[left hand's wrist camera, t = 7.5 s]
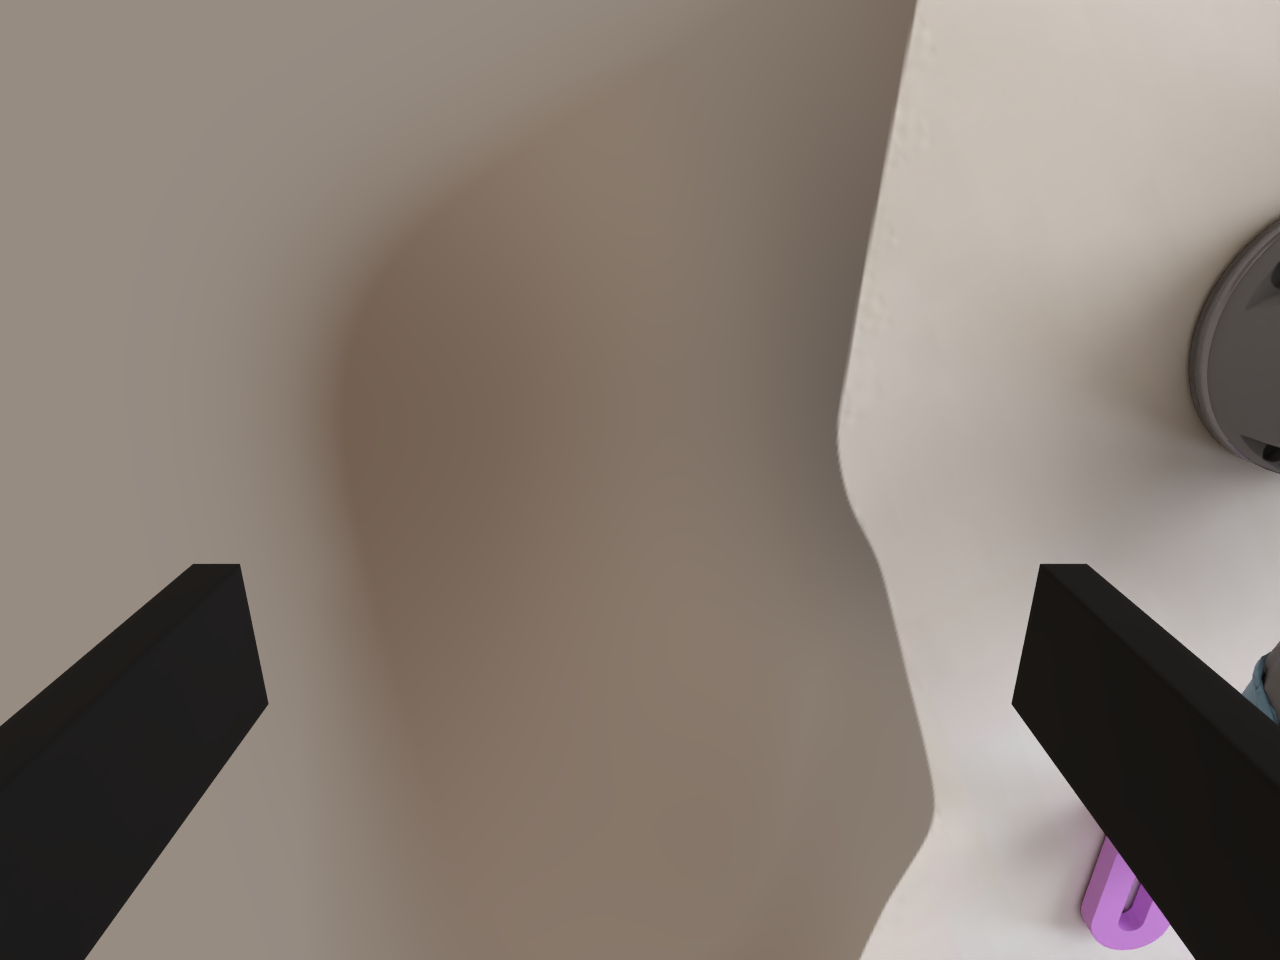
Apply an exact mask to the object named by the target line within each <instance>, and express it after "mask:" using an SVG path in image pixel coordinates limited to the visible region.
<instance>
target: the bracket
mask: <svg viewBox="0 0 1280 960" xmlns="http://www.w3.org/2000/svg"><path fill="white" fill-rule="evenodd" d="M1135 879H1136V876H1135V875H1134V873H1133V872H1132V871H1131V869H1130V868H1129V866H1128V865H1127V864H1126V862H1125V861H1124V860H1123V858H1122V857H1121V855H1120V854H1119V853H1118V851H1117V850H1116V848H1115V847H1114V846H1113V844H1112V843H1111V841H1110V840H1109V839H1108V837H1107V836H1106V838H1105V841H1104V844H1103V846H1102V849H1101V852H1100V855H1099V858H1098V860H1097V863H1096V866H1095V869H1094V872H1093V874H1092V877H1091V880H1090V883H1089V885H1088V888H1087V891H1086V894H1085V897H1084V899H1083V902H1082V906H1081V915H1082V918H1083V920H1084V921H1085V923H1086V925H1087V926H1088V928H1089V930H1090V931H1091V933H1092V935H1093V936H1094V938H1095V939H1096V940H1097V941H1098V942H1099V943H1100V944H1101V945H1103V946H1105V947H1108V948H1111V949H1116V950H1130V949H1136V948H1139V947H1142V946H1145V945H1148V944H1150V943H1151V942H1153V941H1155V940H1156V939H1158V938H1159V937H1160V936H1161V935H1162V934H1163V933H1164V932H1165V931H1166V930H1167V928H1168V927H1169V925H1170V923H1169V922H1168V921H1167V919H1166V918H1165V916H1164V915H1163V914H1162V912H1161V911H1160V910H1159V908H1158V907H1157V905H1156V904H1155V903H1154V901H1153V900H1152V898H1151V897H1150V896H1149V894H1148V893H1147V891H1146V890H1145V889H1144V887H1143V886H1142V885H1140V888H1139V890H1138V893H1137V895H1136V898H1135V900H1134V903H1133V906H1132V907H1131V909H1130V910H1128V911H1127V912H1125V913H1122V911H1123V908H1124V906H1125V903H1126V901H1127V898H1128V895H1129V893H1130V890H1131V888H1132V885H1133V882H1134V880H1135Z"/></svg>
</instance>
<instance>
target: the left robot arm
mask: <svg viewBox="0 0 1280 960" xmlns="http://www.w3.org/2000/svg"><path fill="white" fill-rule="evenodd" d="M1189 377H1190V387H1191V393H1192V397H1193V401H1194V404H1195V407H1196V410H1197V412H1198V414H1199V417H1200V418H1201V420H1202V422H1203V424H1204V425H1205V427H1206V428H1207V430H1208V431H1209V432H1210V434H1211V435H1212V436H1213V437H1214V438H1215V439H1216V440H1217V441H1218V442H1219V443H1220V444H1221V445H1222V446H1224V447H1225V448H1226V449H1227V450H1229V451H1230V452H1232V453H1233V454H1235V455H1237V456H1238V457H1240V458H1243V459H1245V460H1247V461H1249V462H1252V463H1254V464H1256V465H1258V466H1260V467H1263V468H1265V469H1267V470H1270V471H1273V472H1276V473H1280V219H1279V220H1277V221H1276V222H1274V223H1273V224H1271V225H1270V226H1269V227H1268V228H1266V229H1265V230H1264V231H1263V232H1261V233H1260V234H1259V235H1258V236H1257V237H1256V238H1255V239H1254V240H1252V241H1251V242H1250V243H1249V244H1248V245H1247V246H1246V247H1245V248H1244V249H1243V250H1242V251H1241V253H1240V254H1239V255H1238V256H1237V257H1236V258H1235V259H1234V260H1233V262H1232V263H1231V264H1230V265H1229V267H1228V268H1227V269H1226V270H1225V272H1224V273H1223V275H1222V276H1221V278H1220V279H1219V281H1218V282H1217V284H1216V285H1215V287H1214V289H1213V290H1212V292H1211V294H1210V296H1209V297H1208V299H1207V301H1206V304H1205V306H1204V308H1203V310H1202V312H1201V315H1200V317H1199V320H1198V323H1197V326H1196V329H1195V333H1194V337H1193V340H1192V346H1191V352H1190V363H1189ZM267 705H268V699H267V694H266V689H265V685H264V680H263V675H262V670H261V665H260V660H259V655H258V650H257V646H256V641H255V636H254V631H253V626H252V621H251V616H250V611H249V606H248V602H247V597H246V592H245V587H244V582H243V577H242V572H241V567H240V564H193V565H191V566H190V567H189V568H188V569H187V570H185V571H184V572H183V573H182V574H181V575H180V576H178V577H177V578H176V579H175V580H174V581H172V582H171V583H170V584H169V585H168V586H166V587H165V588H164V589H163V590H162V591H161V592H159V593H158V594H157V595H156V596H155V597H153V598H152V599H151V600H150V601H149V602H147V603H146V604H145V605H144V606H143V607H142V608H140V609H139V610H138V611H137V612H136V613H134V614H133V615H132V616H131V617H130V618H128V619H127V620H126V621H125V622H124V623H122V624H121V625H120V626H119V627H118V628H117V629H115V630H114V631H113V632H112V633H111V634H109V635H108V636H107V637H106V638H105V639H103V640H102V641H101V642H100V643H99V644H98V645H96V646H95V647H94V648H93V649H92V650H90V651H89V652H88V653H87V654H86V655H84V656H83V657H82V658H81V659H80V660H79V661H77V662H76V663H75V664H74V665H73V666H71V667H70V668H69V669H68V670H67V671H65V672H64V673H63V674H62V675H61V676H59V677H58V678H57V679H56V680H55V681H54V682H52V683H51V684H50V685H49V686H48V687H46V688H45V689H44V690H43V691H42V692H40V693H39V694H38V695H37V696H36V697H35V698H33V699H32V700H31V701H30V702H29V703H27V704H26V705H25V706H24V707H23V708H21V709H20V710H19V711H18V712H17V713H16V714H14V715H13V716H12V717H11V718H10V719H8V720H7V721H6V722H5V723H4V724H3V725H1V726H0V960H85V958H86V957H87V955H88V954H89V953H90V951H91V950H92V948H93V947H94V946H95V944H96V943H97V941H98V940H99V939H100V937H101V936H102V935H103V933H104V932H105V930H106V929H107V928H108V926H109V925H110V923H111V922H112V921H113V919H114V918H115V916H116V915H117V914H118V912H119V911H120V910H121V908H122V907H123V905H124V904H125V903H126V901H127V900H128V898H129V897H130V896H131V894H132V893H133V891H134V890H135V889H136V887H137V886H138V884H139V883H140V882H141V880H142V879H143V878H144V876H145V875H146V873H147V872H148V871H149V869H150V868H151V866H152V865H153V864H154V862H155V861H156V859H157V858H158V857H159V855H160V854H161V853H162V851H163V850H164V848H165V847H166V846H167V844H168V843H169V841H170V840H171V839H172V837H173V836H174V834H175V833H176V832H177V830H178V829H179V827H180V826H181V825H182V823H183V822H184V821H185V819H186V818H187V816H188V815H189V814H190V812H191V811H192V809H193V808H194V807H195V805H196V804H197V803H198V801H199V800H200V798H201V797H202V796H203V794H204V793H205V791H206V790H207V789H208V787H209V786H210V785H211V783H212V782H213V780H214V779H215V778H216V776H217V775H218V773H219V772H220V771H221V769H222V768H223V766H224V765H225V764H226V762H227V761H228V760H229V758H230V757H231V755H232V754H233V753H234V751H235V750H236V748H237V747H238V746H239V744H240V743H241V741H242V740H243V739H244V737H245V736H246V734H247V733H248V732H249V730H250V729H251V728H252V726H253V725H254V723H255V722H256V721H257V719H258V718H259V716H260V715H261V714H262V712H263V711H264V709H265V708H266V707H267ZM1012 705H1013V707H1014V708H1015V709H1016V711H1017V712H1018V714H1019V715H1020V716H1021V718H1022V719H1023V721H1024V722H1025V723H1026V725H1027V726H1028V728H1029V729H1030V730H1031V732H1032V733H1033V734H1034V736H1035V737H1036V739H1037V740H1038V741H1039V743H1040V744H1041V746H1042V747H1043V748H1044V750H1045V751H1046V753H1047V754H1048V755H1049V757H1050V758H1051V760H1052V761H1053V762H1054V764H1055V765H1056V766H1057V768H1058V769H1059V771H1060V772H1061V773H1062V775H1063V776H1064V778H1065V779H1066V780H1067V782H1068V783H1069V785H1070V786H1071V787H1072V789H1073V790H1074V791H1075V793H1076V794H1077V796H1078V797H1079V798H1080V800H1081V801H1082V803H1083V804H1084V805H1085V807H1086V808H1087V810H1088V811H1089V812H1090V814H1091V815H1092V816H1093V818H1094V819H1095V821H1096V822H1097V823H1098V825H1099V826H1100V828H1101V829H1102V830H1103V832H1104V833H1105V835H1106V836H1107V837H1108V839H1109V840H1110V841H1111V843H1112V844H1113V846H1114V847H1115V848H1116V850H1117V851H1118V853H1119V854H1120V855H1121V857H1122V858H1123V860H1124V861H1125V862H1126V864H1127V865H1128V866H1129V868H1130V869H1131V871H1132V872H1133V873H1134V875H1135V876H1136V878H1137V879H1138V880H1139V882H1140V883H1141V885H1142V886H1143V887H1144V889H1145V890H1146V891H1147V893H1148V894H1149V896H1150V897H1151V898H1152V900H1153V901H1154V903H1155V904H1156V905H1157V907H1158V908H1159V910H1160V911H1161V912H1162V914H1163V915H1164V916H1165V918H1166V919H1167V921H1168V922H1169V923H1170V925H1171V926H1172V928H1173V929H1174V930H1175V932H1176V933H1177V935H1178V936H1179V937H1180V939H1181V940H1182V941H1183V943H1184V944H1185V946H1186V947H1187V948H1188V950H1189V951H1190V953H1191V954H1192V955H1193V957H1194V958H1195V960H1280V642H1279V643H1278V644H1277V645H1276V647H1275V648H1274V649H1273V650H1272V652H1269V653H1268V654H1266V655H1264V656H1262V657H1261V659H1260V660H1259V661H1258V662H1257V664H1256V666H1255V668H1254V672H1253V679H1252V680H1251V682H1250V683H1249V684H1248V686H1247V687H1246V689H1245V690H1244V691H1243V693H1242V694H1241V693H1240V692H1238V691H1237V690H1236V689H1235V688H1234V687H1232V686H1231V685H1230V684H1229V683H1228V682H1226V681H1225V680H1224V679H1223V678H1222V677H1221V676H1219V675H1218V674H1217V673H1216V672H1215V671H1213V670H1212V669H1211V668H1210V667H1209V666H1207V665H1206V664H1205V663H1204V662H1203V661H1201V660H1200V659H1199V658H1198V657H1197V656H1196V655H1194V654H1193V653H1192V652H1191V651H1190V650H1188V649H1187V648H1186V647H1185V646H1184V645H1182V644H1181V643H1180V642H1179V641H1178V640H1177V639H1175V638H1174V637H1173V636H1172V635H1171V634H1169V633H1168V632H1167V631H1166V630H1165V629H1163V628H1162V627H1161V626H1160V625H1159V624H1158V623H1156V622H1155V621H1154V620H1153V619H1152V618H1150V617H1149V616H1148V615H1147V614H1146V613H1144V612H1143V611H1142V610H1141V609H1140V608H1139V607H1137V606H1136V605H1135V604H1134V603H1133V602H1131V601H1130V600H1129V599H1128V598H1127V597H1125V596H1124V595H1123V594H1122V593H1121V592H1120V591H1118V590H1117V589H1116V588H1115V587H1114V586H1112V585H1111V584H1110V583H1109V582H1108V581H1106V580H1105V579H1104V578H1103V577H1102V576H1101V575H1099V574H1098V573H1097V572H1096V571H1095V570H1093V569H1092V568H1091V567H1090V566H1089V565H1087V564H1040V567H1039V572H1038V577H1037V582H1036V587H1035V592H1034V596H1033V601H1032V606H1031V611H1030V616H1029V621H1028V626H1027V631H1026V636H1025V641H1024V645H1023V650H1022V655H1021V660H1020V665H1019V670H1018V675H1017V680H1016V685H1015V689H1014V694H1013V699H1012Z"/></svg>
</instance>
